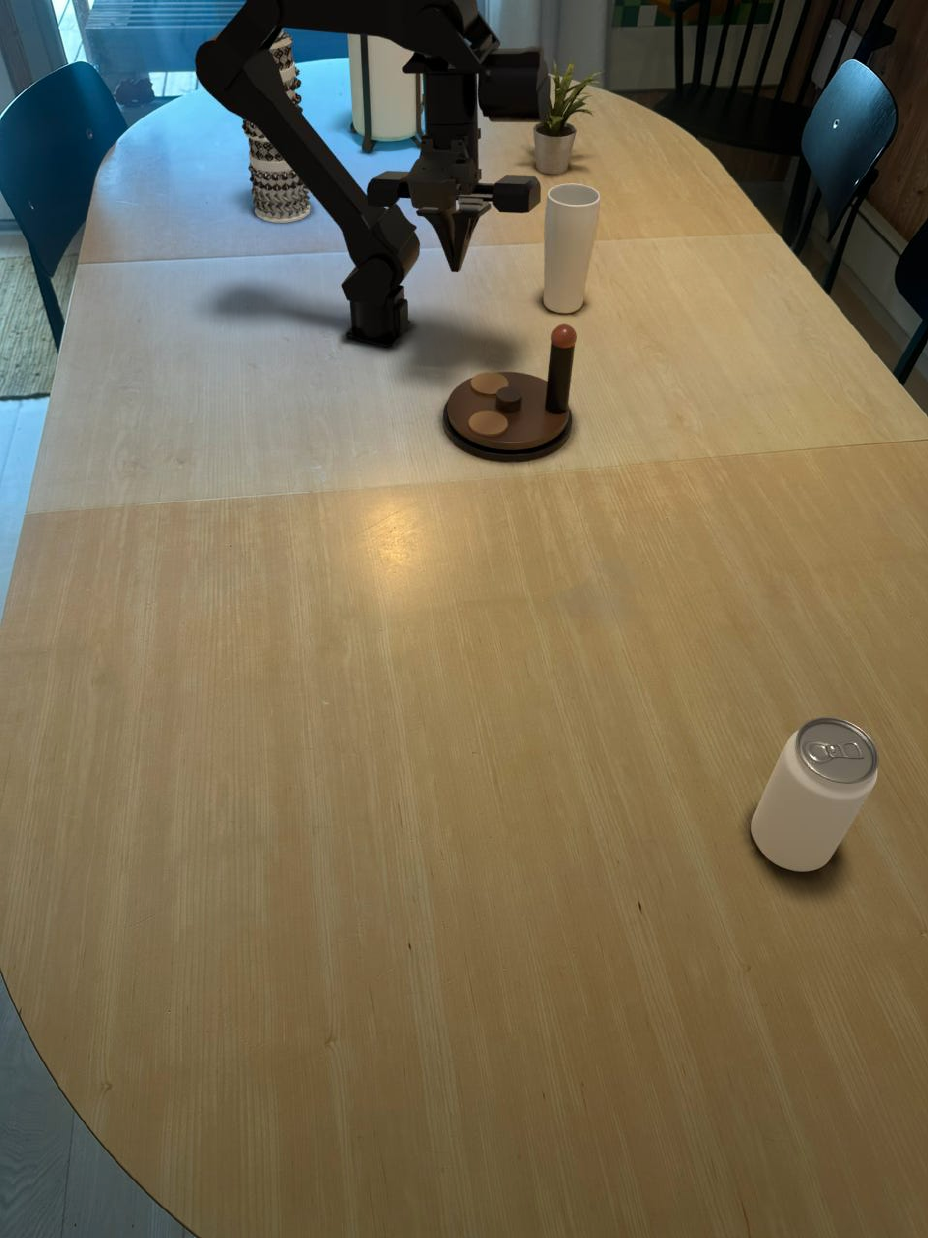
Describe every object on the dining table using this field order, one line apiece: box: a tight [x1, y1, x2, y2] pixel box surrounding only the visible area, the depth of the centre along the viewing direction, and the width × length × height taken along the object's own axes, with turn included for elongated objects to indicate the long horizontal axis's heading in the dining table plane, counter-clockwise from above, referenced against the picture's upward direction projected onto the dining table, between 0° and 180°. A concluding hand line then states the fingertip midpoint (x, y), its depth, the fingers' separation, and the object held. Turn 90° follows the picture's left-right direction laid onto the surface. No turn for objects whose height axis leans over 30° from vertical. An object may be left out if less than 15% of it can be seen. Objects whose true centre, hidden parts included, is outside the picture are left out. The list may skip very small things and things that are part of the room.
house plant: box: [532, 58, 605, 176], centre depth 154 cm, size 14×14×16 cm
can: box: [750, 716, 880, 872], centre depth 72 cm, size 6×6×12 cm
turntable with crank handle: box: [447, 323, 578, 450], centre depth 108 cm, size 14×14×11 cm
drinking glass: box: [542, 182, 601, 314], centre depth 126 cm, size 7×7×15 cm
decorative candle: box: [241, 28, 311, 224], centre depth 139 cm, size 9×9×25 cm
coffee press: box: [347, 34, 425, 154], centre depth 158 cm, size 17×16×30 cm
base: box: [442, 400, 574, 463], centre depth 112 cm, size 15×15×1 cm
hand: (455, 271), depth 112 cm, fingers closed
